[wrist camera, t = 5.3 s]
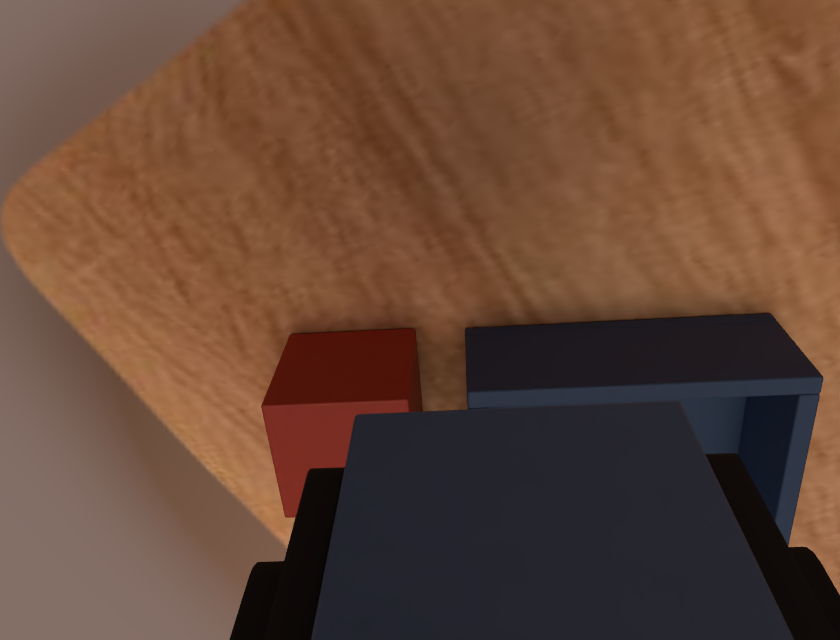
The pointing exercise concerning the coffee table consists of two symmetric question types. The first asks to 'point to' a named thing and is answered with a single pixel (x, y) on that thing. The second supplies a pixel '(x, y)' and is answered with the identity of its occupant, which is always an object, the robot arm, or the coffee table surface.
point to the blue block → (538, 531)
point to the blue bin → (668, 383)
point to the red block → (334, 398)
